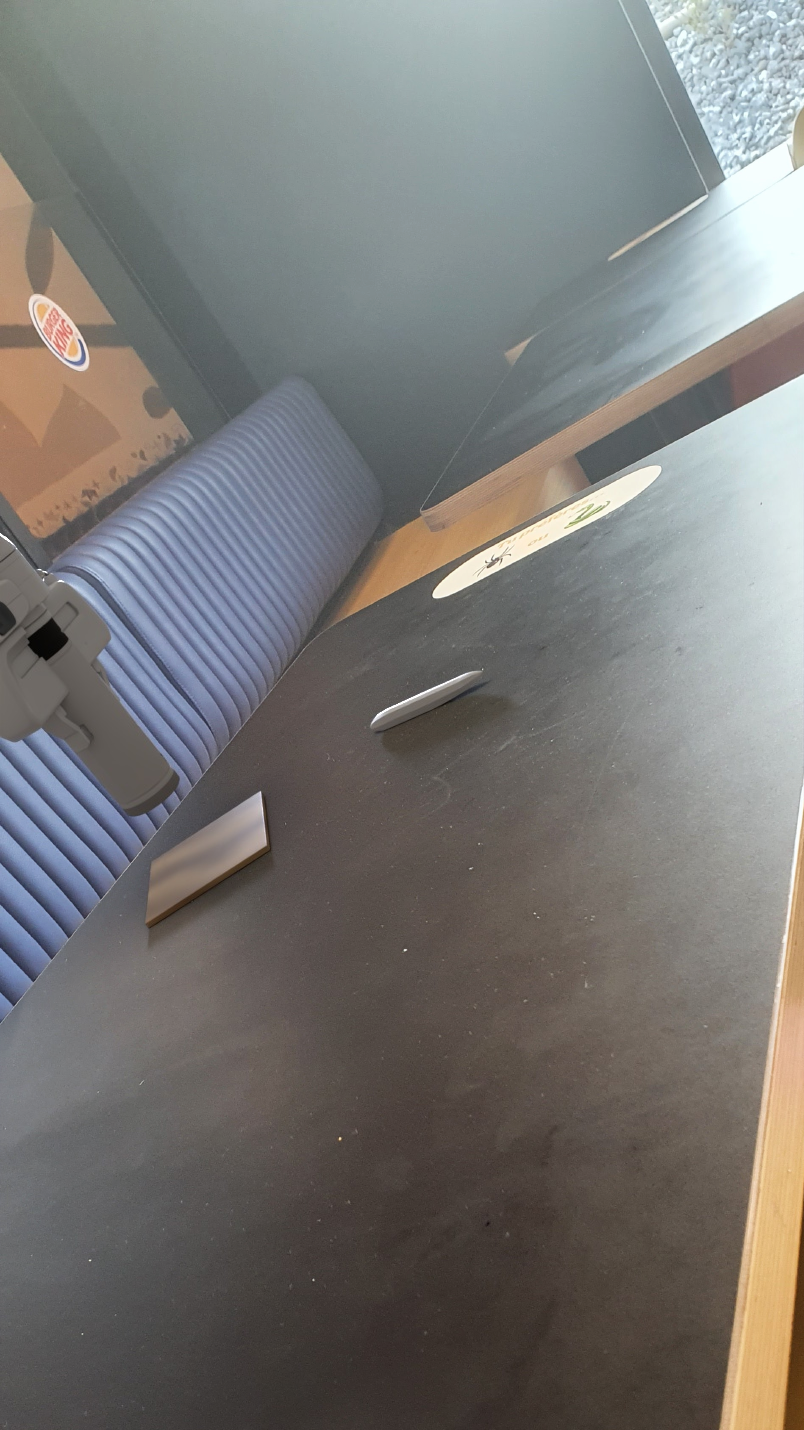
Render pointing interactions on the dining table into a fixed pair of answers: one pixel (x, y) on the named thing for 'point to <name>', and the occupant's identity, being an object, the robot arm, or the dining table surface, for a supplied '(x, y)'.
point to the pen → (424, 701)
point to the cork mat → (207, 858)
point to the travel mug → (106, 729)
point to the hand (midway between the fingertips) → (99, 727)
